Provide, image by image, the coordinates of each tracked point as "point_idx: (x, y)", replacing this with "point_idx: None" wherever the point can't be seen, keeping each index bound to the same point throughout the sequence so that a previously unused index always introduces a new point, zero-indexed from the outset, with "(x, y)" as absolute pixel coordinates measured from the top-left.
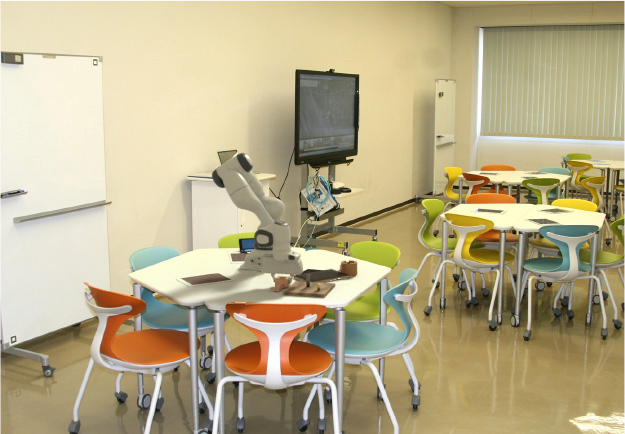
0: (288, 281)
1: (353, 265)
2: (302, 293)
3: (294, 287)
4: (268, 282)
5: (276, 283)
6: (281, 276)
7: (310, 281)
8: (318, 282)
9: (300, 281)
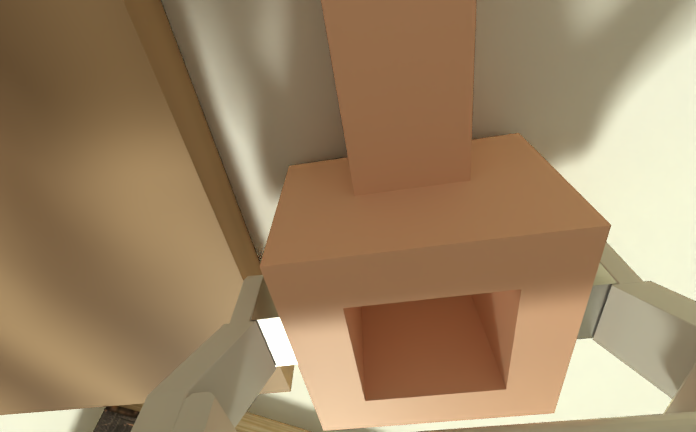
0: None
1: None
2: None
3: (18, 94)
4: None
5: (510, 169)
6: (487, 404)
7: (106, 412)
8: (7, 410)
9: None
